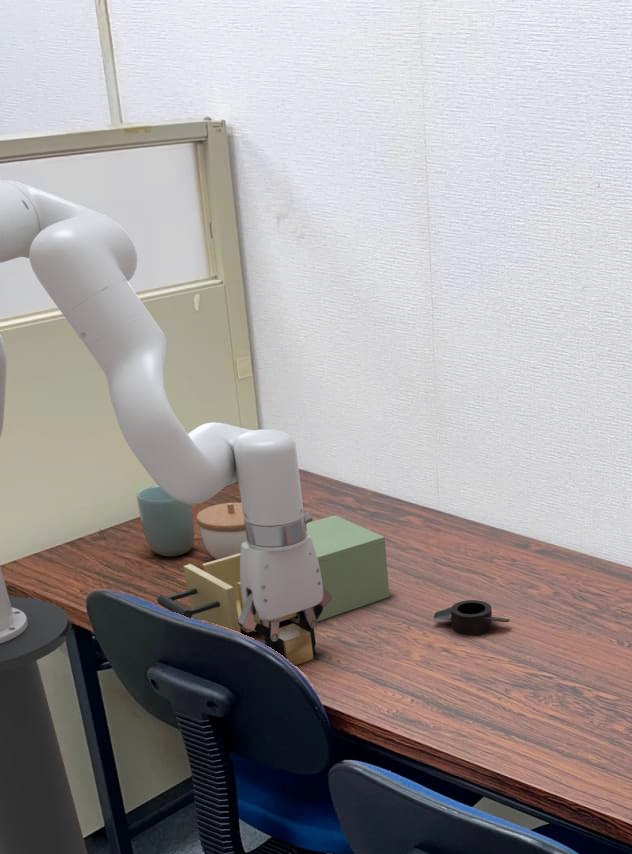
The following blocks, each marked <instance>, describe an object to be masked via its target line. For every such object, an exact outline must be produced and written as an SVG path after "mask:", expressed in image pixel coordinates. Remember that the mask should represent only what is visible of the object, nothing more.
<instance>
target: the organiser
mask: <svg viewBox="0 0 632 854" xmlns="http://www.w3.org/2000/svg"><path fill="white" fill-rule="evenodd" d="M306 528H307V531H306V533H308V534H309V535H310V537H311V539H312V542H313V545H314V548H315V551H316V554H317V558H318V562H319V566H320V572H321V577H322V584H323V585H324V586H325V588H326V589H327V590H328V591H329V592H330V593H331V594H332V599H331V600H330V602H329V603H328V604H327V605H326V606H325V607H324V608H323V611H322V613H321V614H320V616H319V618H318V619H317V623H318V622H321V621H323V620H327V619H329V618H332V617H336V616H338V615H340V614H343V613H346V612H347V613H348V612H349V611H353V610H355V609H358V608H361V607H364V606H367V605H370V604H372V603H373V604H374V603H375V602H379V601H381V600H384V599H387V598H390V586H389V575H388V562H387V561H388V560H387V549H386V537H385V536H384V535H381V534H379V533H376V532H375V531H372V530H370V529H368V528H365V527H363V526H361V525H358V524H357V523H354V522H352V521H349V520H347V519H344V518H343V517H340V516H338V515H336V514H334V515H331V516H327V517H322V518H319V519H316V520H312V522H309V523H307V524H306ZM246 541H247V540H246ZM288 620H289V621H292V622H293V623H294V624H296V623H298V622H299V619H298V616H296V617H293V618H290V619H288Z"/></svg>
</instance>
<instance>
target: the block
mask: <svg viewBox="0 0 632 854" xmlns="http://www.w3.org/2000/svg"><path fill="white" fill-rule="evenodd" d="M279 638H280V639H282V641H283V646H284V653H285V658H286V659H288V660H289V662H291V663H292V664H293V665H294V666H293V667H295V666H298V665H300V664H303V663H306V662H309V661H312V660H314V656H313V651H312V643H311V635H310V632H308V631H307V630H305V629H303V628H301V627H299V626H298V625H296V623H295V622H293V623H291V624H287V625H285V626H282V627H279Z"/></svg>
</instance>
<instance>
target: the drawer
mask: <svg viewBox="0 0 632 854" xmlns="http://www.w3.org/2000/svg"><path fill="white" fill-rule="evenodd" d="M201 566H202V569H201V568H199V567H198V566H196V565H194V564H192V563H188V564H186V565H183V566H182V567H183V572H184V579H185V583H186V584H185V585H186V589H187V590H185V591H181V592H178V593H175V594H171V595H168V596H167V595H165V594H161V595H159V596H157V599H156V601H157V604H158V605H160V606H161V607H163V608H165V609H166V610H168V611H170V612H171V613H173V612H176V613H179V614H181V615H184V616H186V617H189V618H190V619H192V618H194V619H196V618H197V619H200V620H205V621H208V622H211V623H214V624H218V625H220V626H224V627H227V628H229V629H232V630H235V631H238V632H240V633H241V634H242V632H241V630H242V631H243V632H245V633H247V634H248V633H251V632H253V631H252V630H249V629H246V628H244V627H242V626H240V625H239V624H238V620H239V618H240V615H241V613H242V610H243V603H242V595H241V584H240V553H239V554H235V555H232V556H228V557H225V558H221V559H218V560H216V559H214V560H211V561H208V562H204V563H202V564H201ZM186 597H188V601H189V606H190V609H188V608H187V607H185V606H183V605H182V604H180V603H178V602H177V600H181V599H184V598H186ZM296 616H297V613H294V614H291V615H288V616H285V617H282V618H279V623H281V622H284V621H287V620H289V619H290V618H293V617H296ZM197 619H196V620H197ZM254 621H257V622H259V623H260V618H259V615H258V612H256V614H255V617H254Z"/></svg>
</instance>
